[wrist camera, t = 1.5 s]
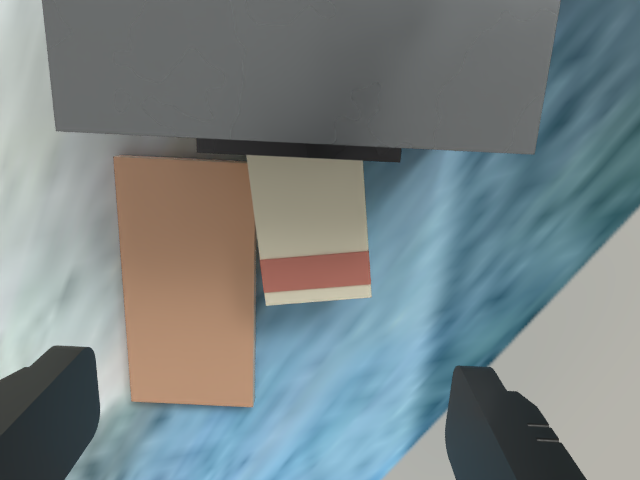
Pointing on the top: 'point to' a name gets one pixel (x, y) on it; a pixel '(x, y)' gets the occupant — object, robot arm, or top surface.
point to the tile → (188, 279)
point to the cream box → (310, 228)
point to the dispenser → (305, 73)
